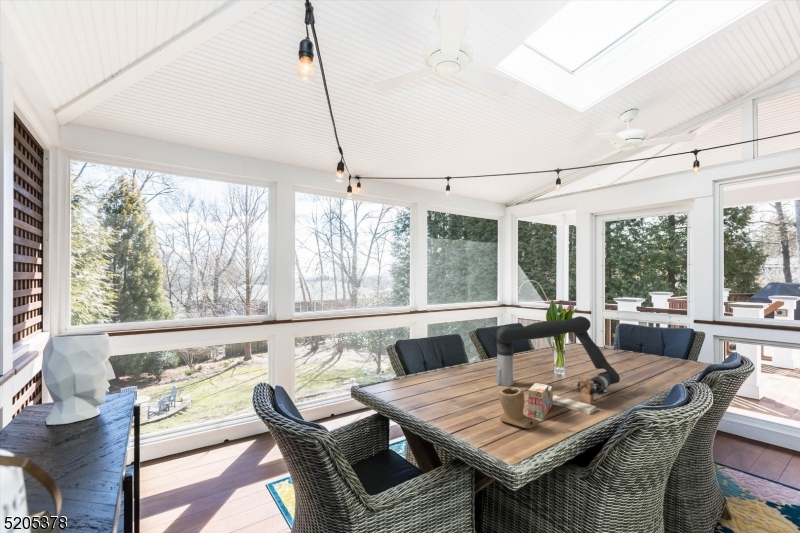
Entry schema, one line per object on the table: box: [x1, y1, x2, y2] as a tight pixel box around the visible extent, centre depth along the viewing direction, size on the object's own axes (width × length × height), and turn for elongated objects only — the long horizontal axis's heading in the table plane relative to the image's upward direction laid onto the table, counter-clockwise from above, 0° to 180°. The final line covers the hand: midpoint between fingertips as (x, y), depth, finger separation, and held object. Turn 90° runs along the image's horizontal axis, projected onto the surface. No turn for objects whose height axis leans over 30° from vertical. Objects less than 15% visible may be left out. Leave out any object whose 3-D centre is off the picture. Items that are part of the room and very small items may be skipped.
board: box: [553, 394, 597, 415], centre depth 176 cm, size 20×8×2 cm, turn 42°
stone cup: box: [498, 386, 540, 429], centre depth 154 cm, size 15×12×15 cm
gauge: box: [578, 378, 595, 405], centre depth 176 cm, size 11×4×12 cm, turn 132°
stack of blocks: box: [527, 382, 554, 420], centre depth 170 cm, size 21×6×12 cm, turn 146°
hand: (584, 391), depth 176 cm, fingers closed on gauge, 4 cm apart
